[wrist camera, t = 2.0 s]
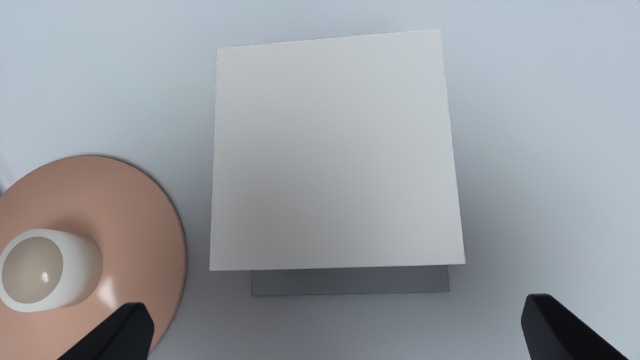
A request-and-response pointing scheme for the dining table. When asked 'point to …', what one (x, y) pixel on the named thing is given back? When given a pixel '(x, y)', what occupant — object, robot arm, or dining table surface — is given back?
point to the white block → (334, 155)
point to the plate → (113, 241)
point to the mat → (350, 280)
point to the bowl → (49, 270)
